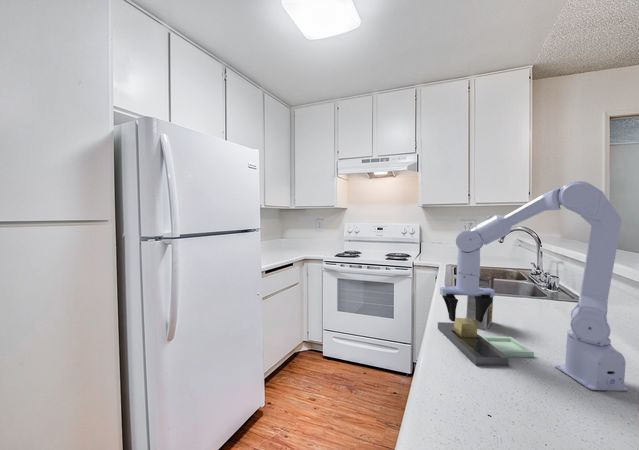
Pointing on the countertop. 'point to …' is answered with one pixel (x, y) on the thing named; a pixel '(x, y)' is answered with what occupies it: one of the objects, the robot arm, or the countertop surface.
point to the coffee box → (484, 282)
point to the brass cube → (465, 328)
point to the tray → (509, 346)
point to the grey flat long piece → (475, 348)
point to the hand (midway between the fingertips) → (465, 320)
